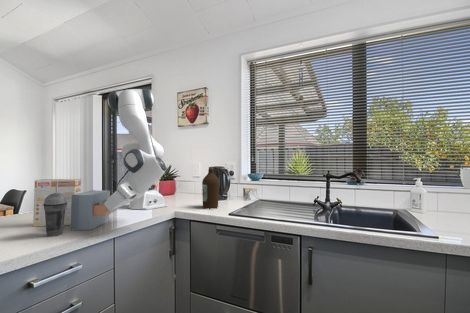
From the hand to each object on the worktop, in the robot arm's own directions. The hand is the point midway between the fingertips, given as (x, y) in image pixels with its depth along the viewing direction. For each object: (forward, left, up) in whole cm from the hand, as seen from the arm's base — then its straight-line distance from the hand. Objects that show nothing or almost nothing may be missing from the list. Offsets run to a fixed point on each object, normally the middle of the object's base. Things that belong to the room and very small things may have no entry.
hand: (110, 211), depth 96 cm
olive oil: (-58, -9, -7) cm, 59 cm away
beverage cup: (+18, -2, -7) cm, 20 cm away
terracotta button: (+3, -2, -1) cm, 4 cm away
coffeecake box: (+16, -19, -7) cm, 26 cm away
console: (+5, -9, -7) cm, 12 cm away
